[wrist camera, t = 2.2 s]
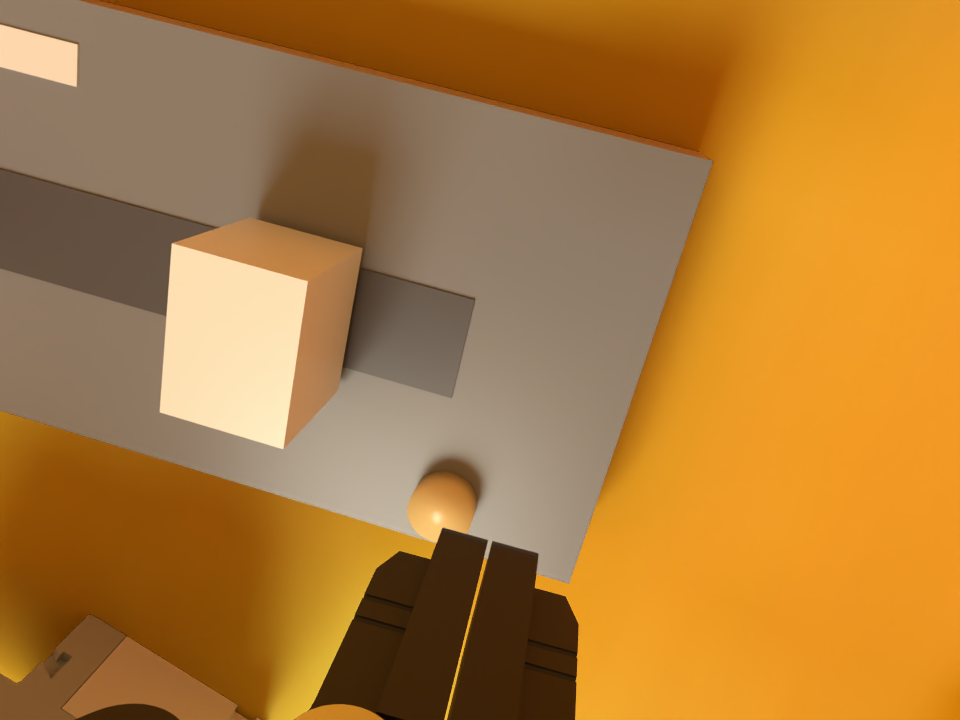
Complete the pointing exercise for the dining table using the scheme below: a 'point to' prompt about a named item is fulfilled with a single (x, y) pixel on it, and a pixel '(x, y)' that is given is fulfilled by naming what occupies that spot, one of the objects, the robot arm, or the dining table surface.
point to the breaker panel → (382, 273)
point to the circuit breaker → (107, 681)
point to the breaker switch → (256, 328)
